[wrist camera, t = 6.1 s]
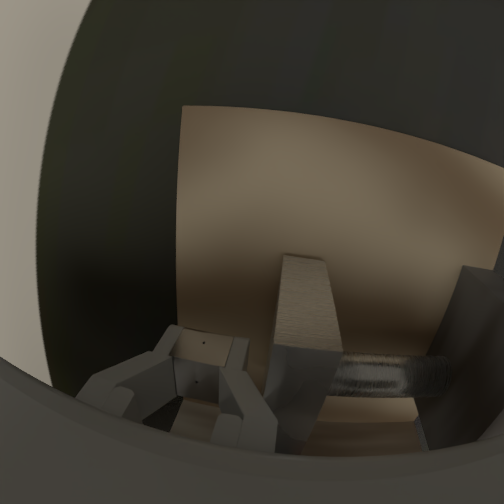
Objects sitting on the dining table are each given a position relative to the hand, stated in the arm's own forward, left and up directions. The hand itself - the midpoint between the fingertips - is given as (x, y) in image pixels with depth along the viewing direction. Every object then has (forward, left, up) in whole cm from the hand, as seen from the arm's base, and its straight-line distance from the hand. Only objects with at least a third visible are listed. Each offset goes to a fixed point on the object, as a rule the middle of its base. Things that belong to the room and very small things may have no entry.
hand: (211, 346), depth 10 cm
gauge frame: (0, -5, -4) cm, 6 cm away
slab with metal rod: (-1, -5, -2) cm, 6 cm away
